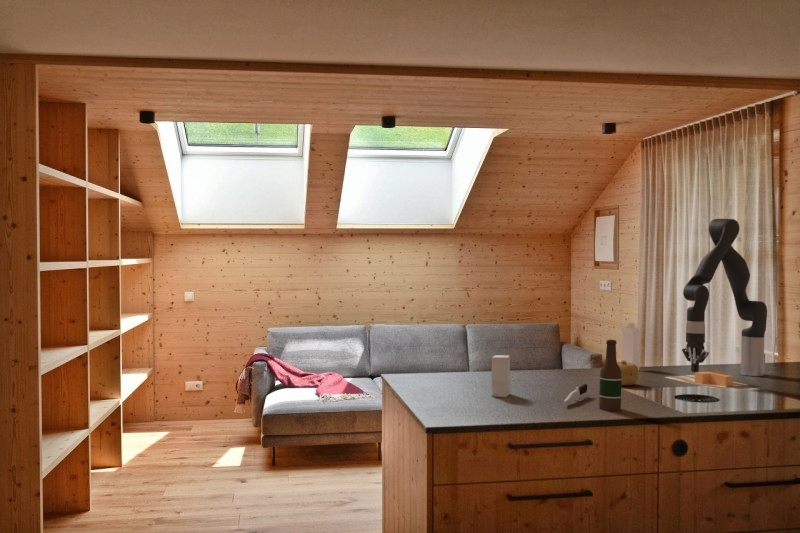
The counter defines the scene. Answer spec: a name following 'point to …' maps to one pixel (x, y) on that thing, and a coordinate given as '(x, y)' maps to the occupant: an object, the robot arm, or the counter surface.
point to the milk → (630, 344)
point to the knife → (575, 394)
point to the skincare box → (501, 375)
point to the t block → (714, 378)
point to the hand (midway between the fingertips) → (694, 372)
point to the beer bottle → (610, 380)
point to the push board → (692, 380)
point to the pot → (628, 373)
